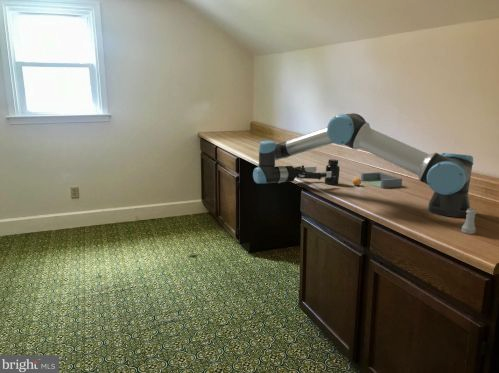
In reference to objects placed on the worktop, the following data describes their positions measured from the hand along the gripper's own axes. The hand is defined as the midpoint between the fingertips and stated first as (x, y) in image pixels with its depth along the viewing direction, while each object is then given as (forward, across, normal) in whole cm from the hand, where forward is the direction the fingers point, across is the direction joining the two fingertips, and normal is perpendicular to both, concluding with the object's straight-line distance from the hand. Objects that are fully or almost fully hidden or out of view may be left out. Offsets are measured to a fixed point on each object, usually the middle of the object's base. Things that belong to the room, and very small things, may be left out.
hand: (323, 171), depth 203 cm
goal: (+29, +8, -6) cm, 30 cm away
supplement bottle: (+5, +1, -6) cm, 8 cm away
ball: (+15, +8, -6) cm, 18 cm away
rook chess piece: (+8, +77, -6) cm, 78 cm away
